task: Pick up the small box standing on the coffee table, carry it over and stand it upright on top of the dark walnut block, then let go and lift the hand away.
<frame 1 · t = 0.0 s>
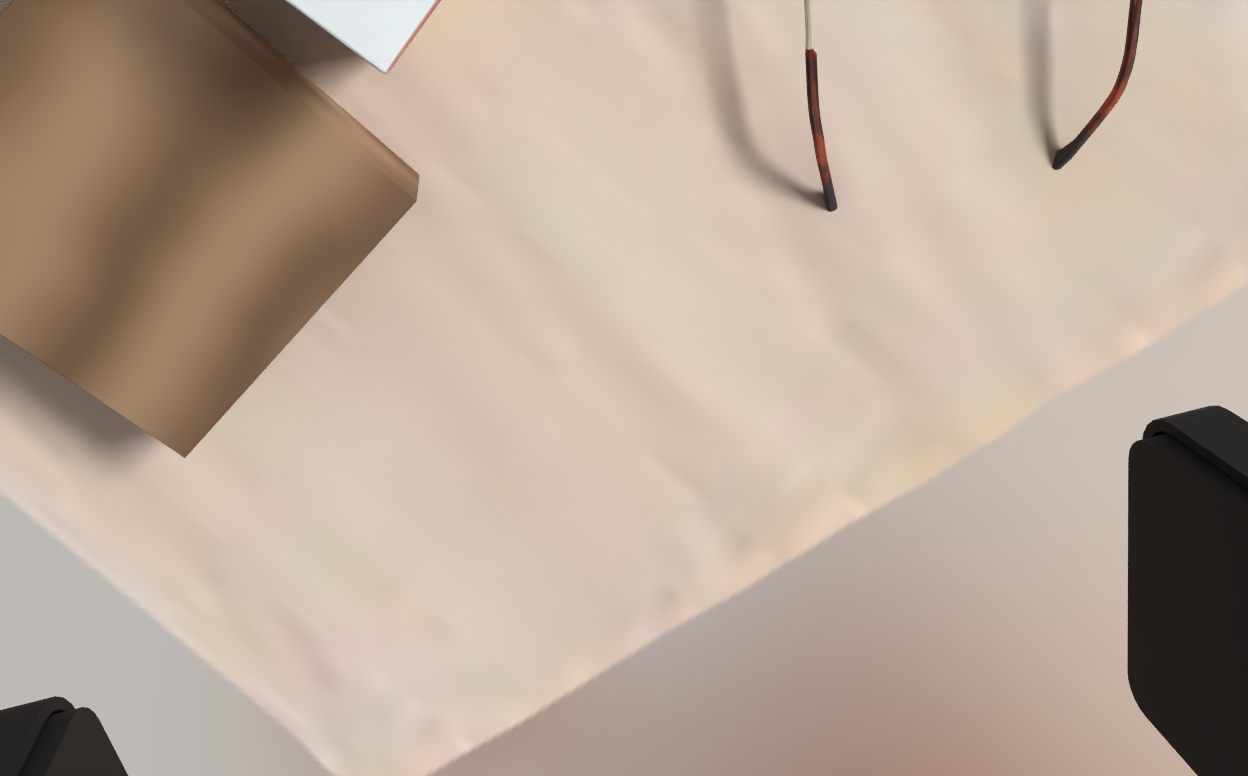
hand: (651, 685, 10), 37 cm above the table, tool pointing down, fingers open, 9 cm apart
walnut block: (170, 182, 43), on the table
sunglasses: (936, 1, 45), on the table
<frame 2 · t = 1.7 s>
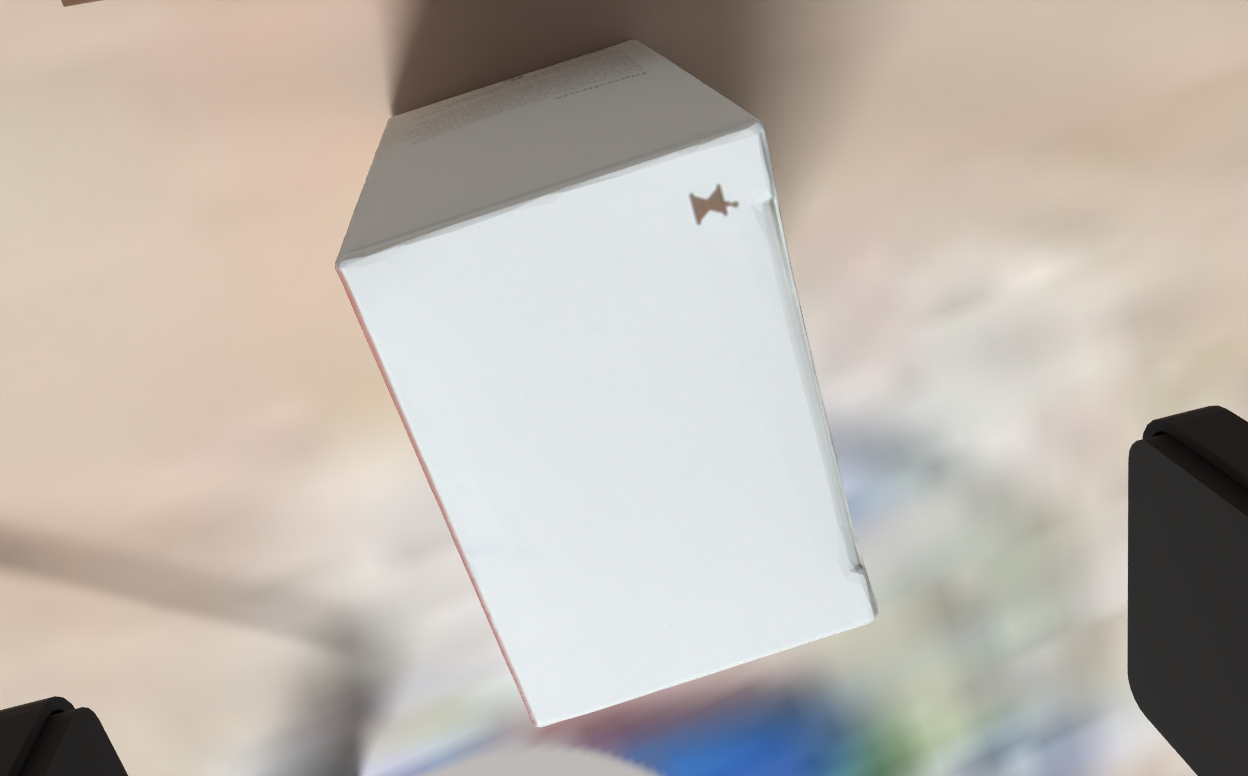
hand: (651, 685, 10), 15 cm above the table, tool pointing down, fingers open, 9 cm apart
small box: (569, 248, 24), on the table
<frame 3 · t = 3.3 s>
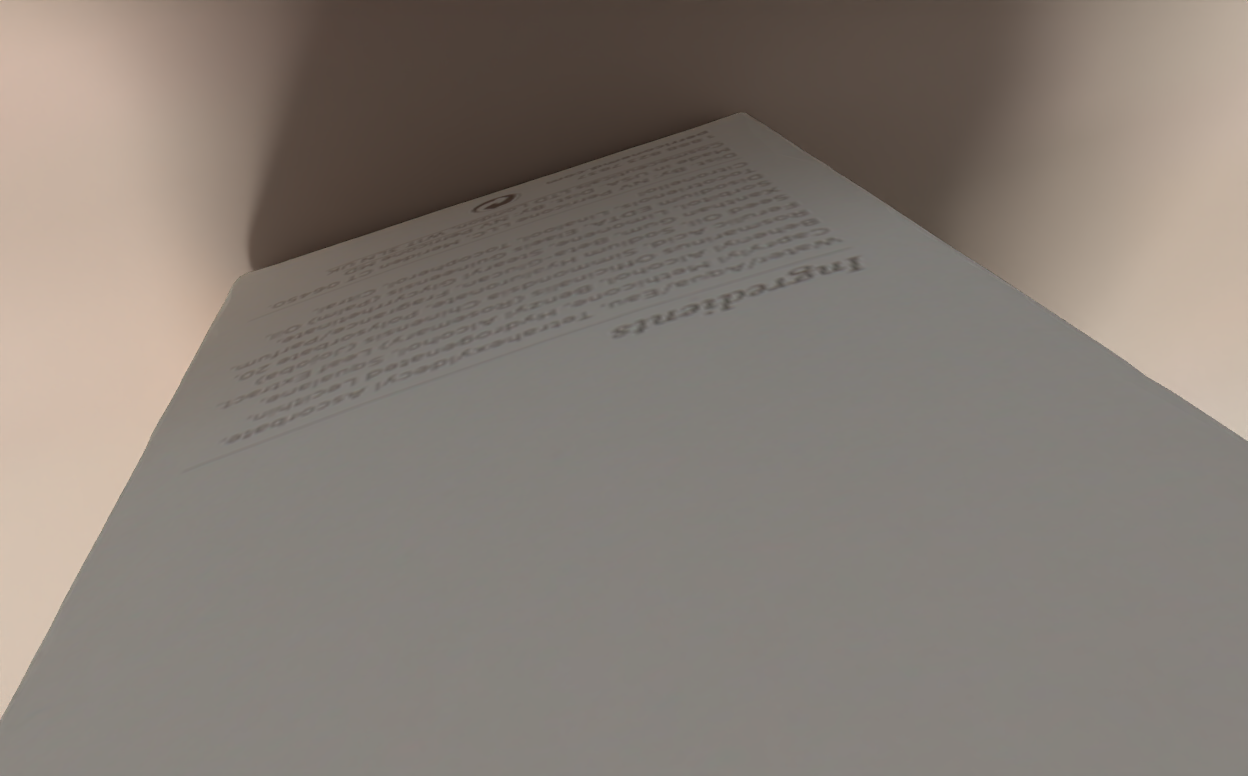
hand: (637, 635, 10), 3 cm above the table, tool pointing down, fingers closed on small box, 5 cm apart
small box: (601, 493, 13), on the table, touching gripper
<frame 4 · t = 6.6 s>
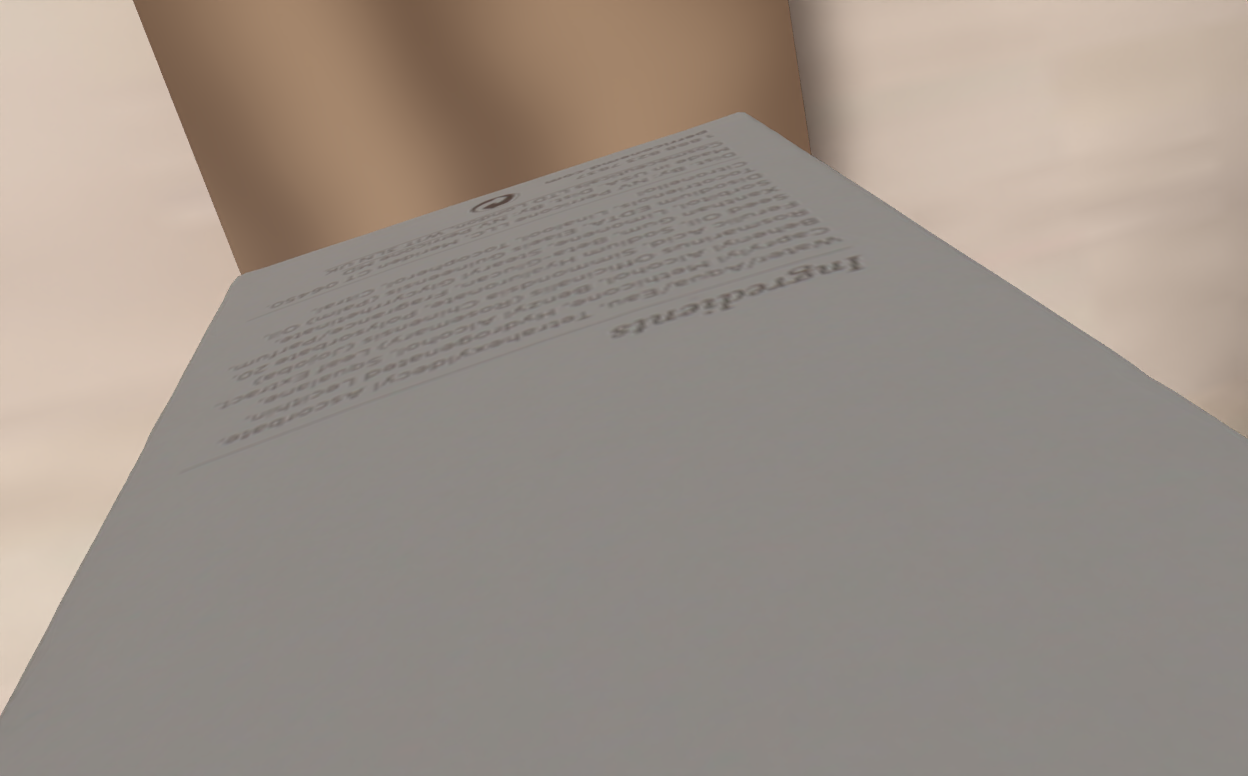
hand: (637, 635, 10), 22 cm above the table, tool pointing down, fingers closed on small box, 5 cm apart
small box: (600, 493, 13), point 19 cm above the table, touching gripper
walnut block: (514, 151, 30), on the table
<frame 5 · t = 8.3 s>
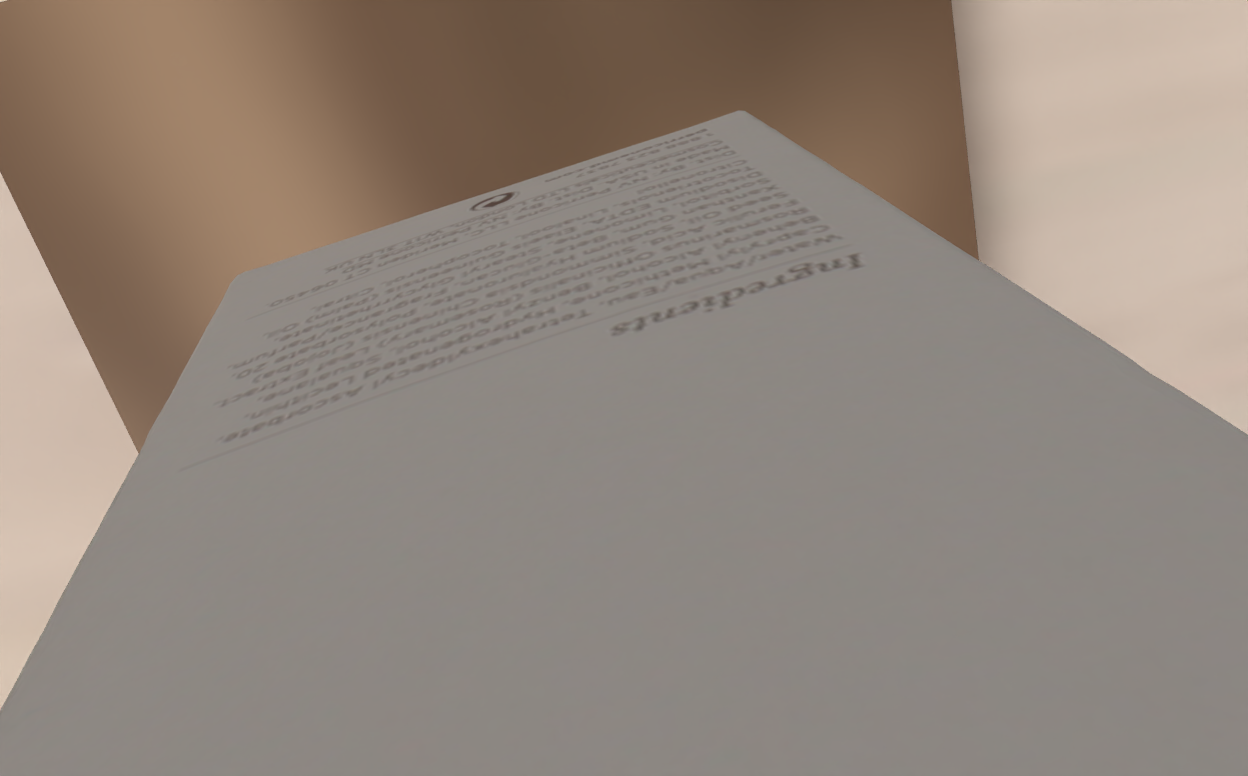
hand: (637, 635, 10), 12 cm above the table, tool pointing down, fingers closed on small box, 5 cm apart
small box: (600, 492, 13), point 10 cm above the table, touching gripper
walnut block: (543, 262, 22), on the table
when the fingers open (9 cm above the table, at t = 9.9 s): small box drops 2 cm, resting on walnut block.
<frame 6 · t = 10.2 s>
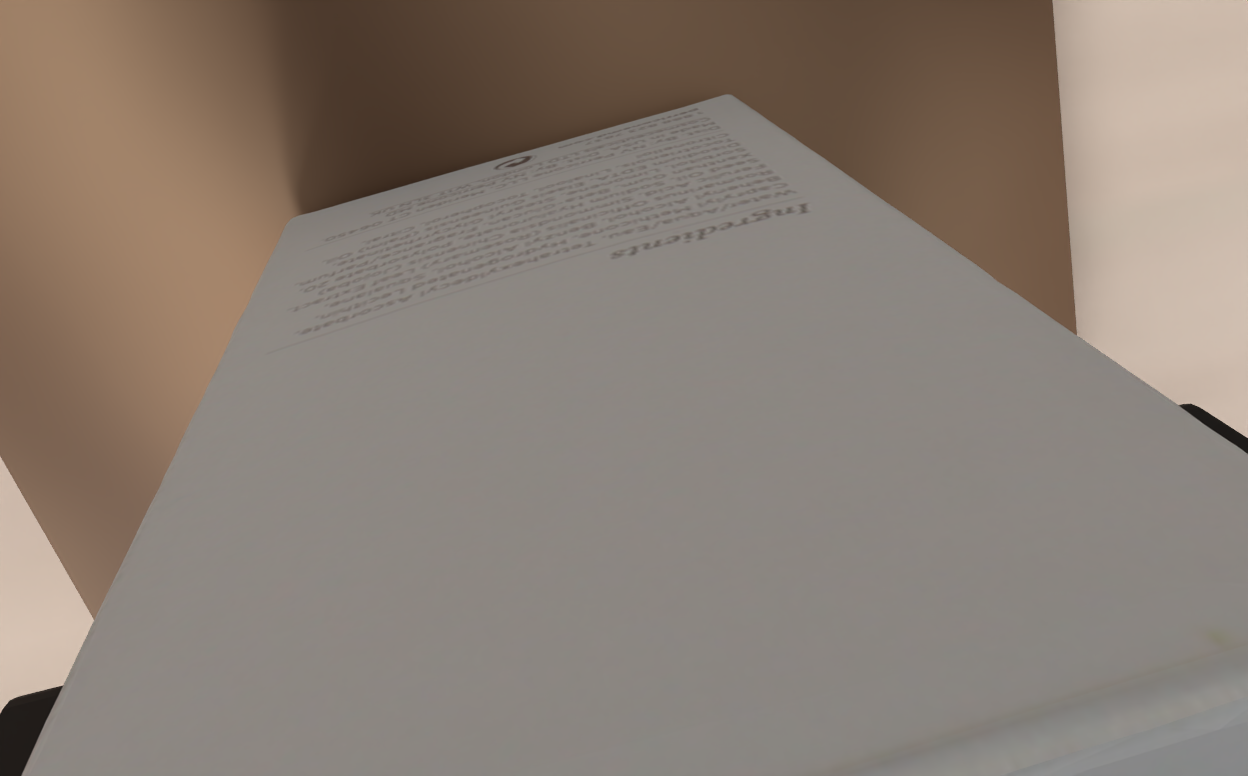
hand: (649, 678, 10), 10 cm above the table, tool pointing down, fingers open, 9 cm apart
small box: (594, 427, 15), point 4 cm above the table, touching walnut block
walnut block: (548, 307, 19), on the table, touching small box
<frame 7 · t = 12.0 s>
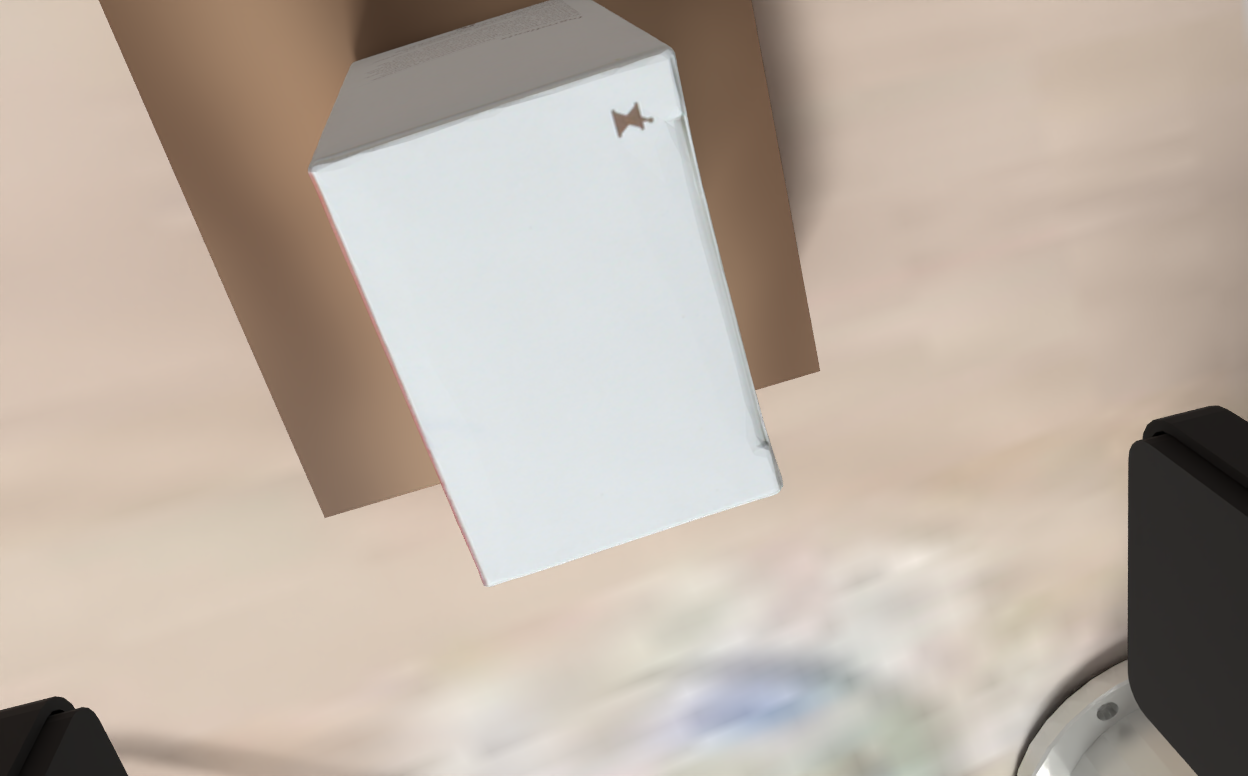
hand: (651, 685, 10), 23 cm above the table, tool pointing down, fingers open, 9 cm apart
small box: (519, 186, 26), point 4 cm above the table, touching walnut block
walnut block: (491, 157, 31), on the table, touching small box
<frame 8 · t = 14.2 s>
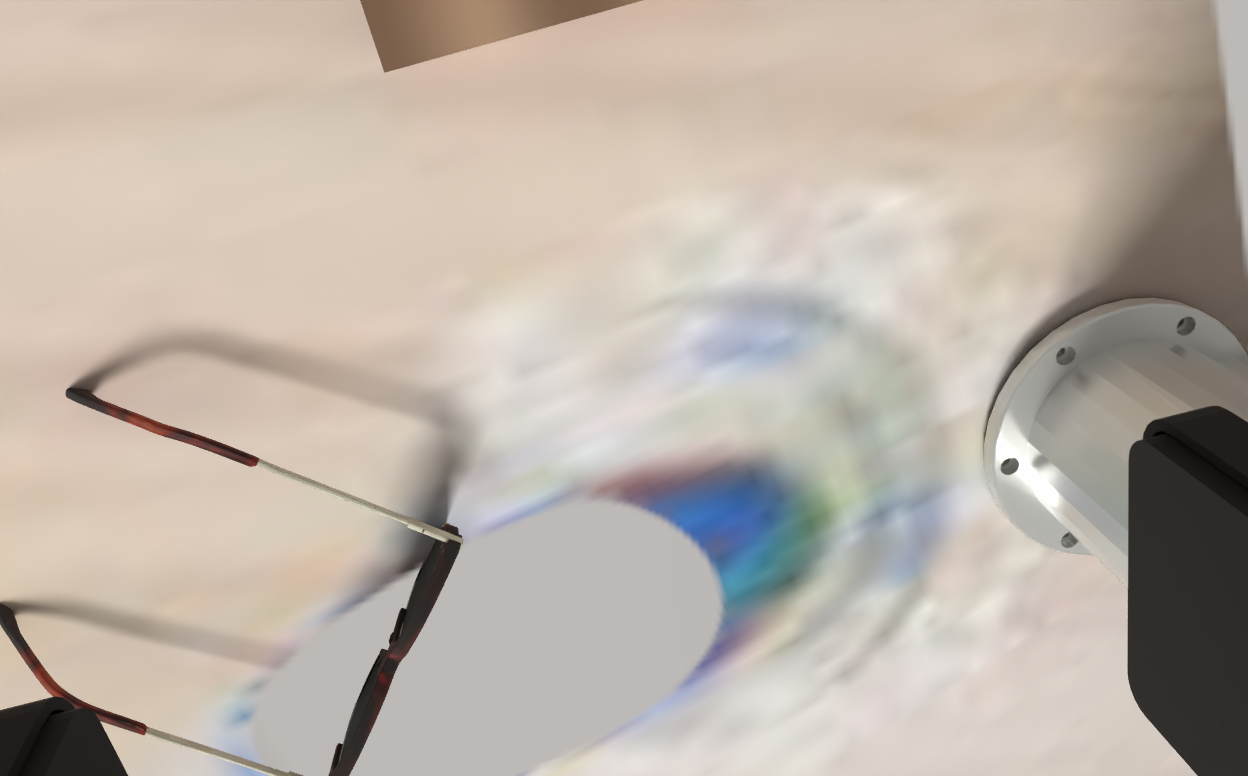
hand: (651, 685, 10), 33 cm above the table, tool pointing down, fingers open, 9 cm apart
sunglasses: (228, 556, 46), on the table
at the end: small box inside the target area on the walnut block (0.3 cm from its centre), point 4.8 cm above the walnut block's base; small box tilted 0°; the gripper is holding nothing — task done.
